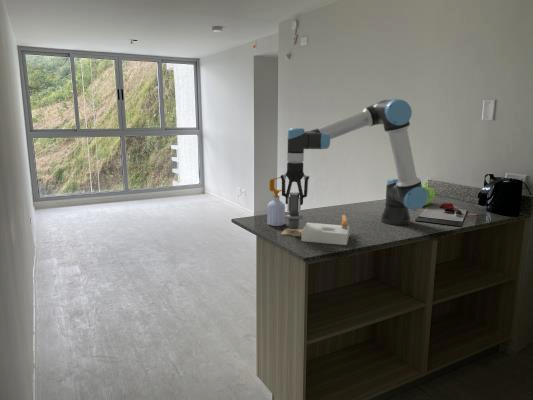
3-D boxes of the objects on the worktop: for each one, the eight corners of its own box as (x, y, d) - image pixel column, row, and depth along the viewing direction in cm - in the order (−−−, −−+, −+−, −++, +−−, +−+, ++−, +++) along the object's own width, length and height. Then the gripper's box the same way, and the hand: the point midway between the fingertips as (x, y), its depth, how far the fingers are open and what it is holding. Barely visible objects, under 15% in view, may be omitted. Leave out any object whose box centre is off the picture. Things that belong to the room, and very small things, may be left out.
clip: (347, 225, 184) (347, 223, 184) (341, 225, 185) (341, 222, 185) (346, 217, 199) (346, 215, 199) (341, 217, 200) (341, 214, 199)
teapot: (404, 206, 255) (406, 184, 252) (397, 200, 274) (398, 179, 271) (435, 207, 254) (437, 184, 251) (425, 201, 273) (427, 179, 270)
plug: (305, 227, 198) (307, 192, 195) (298, 231, 190) (300, 194, 187) (288, 225, 202) (289, 190, 199) (281, 228, 194) (282, 193, 191)
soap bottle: (279, 227, 206) (279, 178, 201) (263, 224, 210) (264, 177, 205) (287, 223, 213) (288, 176, 208) (272, 221, 218) (273, 175, 213)
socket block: (348, 236, 192) (349, 223, 190) (346, 245, 178) (347, 231, 177) (306, 232, 197) (307, 219, 195) (301, 241, 183) (301, 227, 182)
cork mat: (305, 230, 200) (305, 229, 200) (302, 236, 190) (302, 235, 190) (285, 229, 202) (285, 228, 202) (281, 234, 193) (281, 233, 193)
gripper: (315, 161, 191) (313, 210, 195) (278, 160, 195) (278, 208, 200) (312, 163, 184) (311, 214, 188) (275, 162, 188) (274, 211, 193)
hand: (294, 211), depth 194 cm, fingers closed on plug, 4 cm apart
